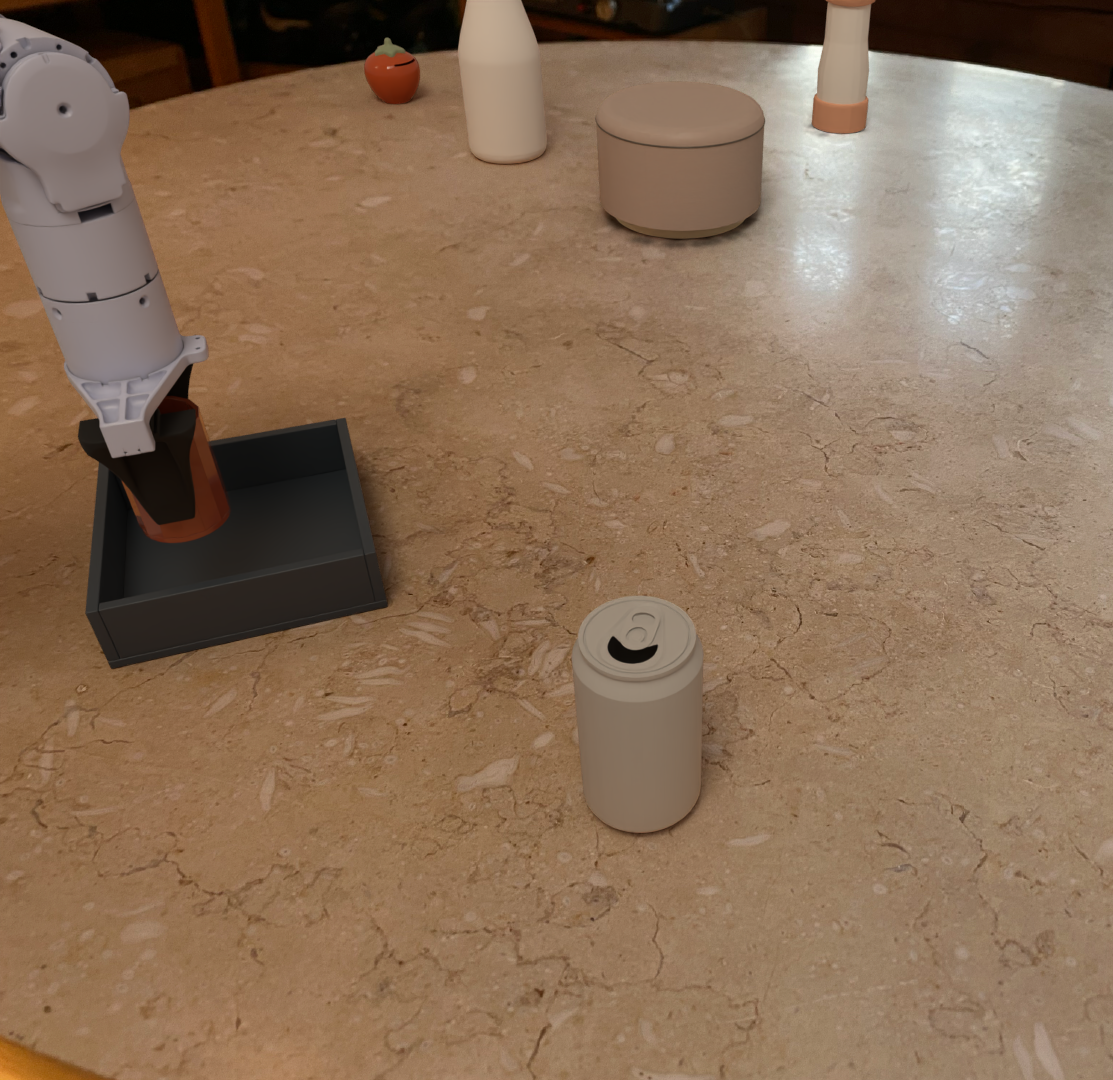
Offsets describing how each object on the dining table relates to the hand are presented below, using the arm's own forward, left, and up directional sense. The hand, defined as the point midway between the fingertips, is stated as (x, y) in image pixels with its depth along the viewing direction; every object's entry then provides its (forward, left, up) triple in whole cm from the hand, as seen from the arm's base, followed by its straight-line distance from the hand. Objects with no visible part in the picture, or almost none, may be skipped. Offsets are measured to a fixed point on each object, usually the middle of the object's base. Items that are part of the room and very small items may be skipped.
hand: (176, 491), depth 64 cm
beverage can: (+21, -24, -9) cm, 33 cm away
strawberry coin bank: (+26, +100, -9) cm, 104 cm away
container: (+50, +51, -9) cm, 72 cm away
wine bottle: (+36, +75, -9) cm, 84 cm away
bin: (+2, +4, -9) cm, 10 cm away
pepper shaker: (+80, +72, -9) cm, 108 cm away
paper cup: (0, 0, -2) cm, 2 cm away
